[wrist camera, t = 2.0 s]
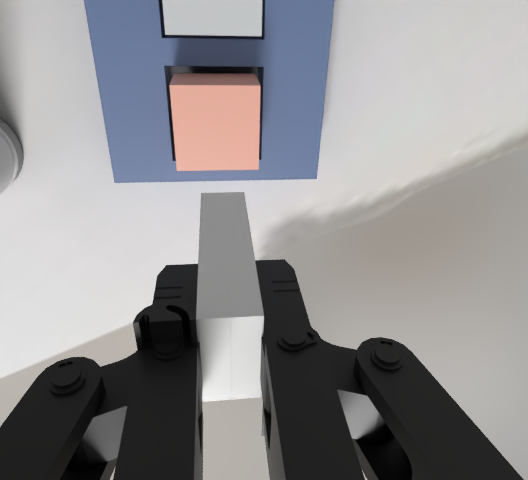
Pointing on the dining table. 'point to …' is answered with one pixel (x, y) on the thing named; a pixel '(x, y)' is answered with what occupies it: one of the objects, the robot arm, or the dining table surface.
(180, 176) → the board
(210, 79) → the key coral
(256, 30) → the key grey
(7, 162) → the travel mug
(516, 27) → the dining table surface
